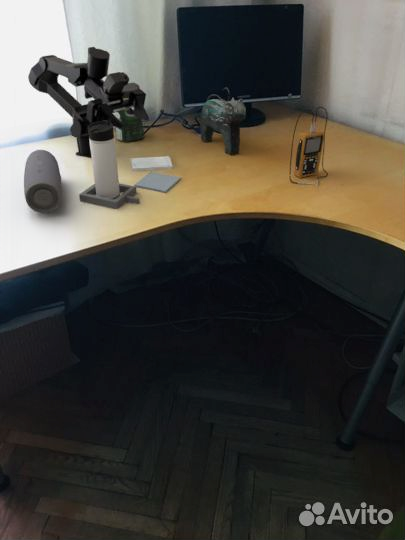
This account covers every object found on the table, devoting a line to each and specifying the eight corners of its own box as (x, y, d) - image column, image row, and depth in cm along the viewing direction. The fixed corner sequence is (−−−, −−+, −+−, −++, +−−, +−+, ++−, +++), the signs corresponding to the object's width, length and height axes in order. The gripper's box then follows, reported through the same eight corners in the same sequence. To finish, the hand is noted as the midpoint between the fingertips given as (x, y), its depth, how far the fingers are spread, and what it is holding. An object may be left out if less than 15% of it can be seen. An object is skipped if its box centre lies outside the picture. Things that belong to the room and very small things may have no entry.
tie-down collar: (80, 201, 123) (79, 194, 121) (101, 186, 131) (100, 179, 129) (129, 212, 118) (128, 205, 117) (148, 195, 126) (147, 188, 125)
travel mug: (124, 194, 127) (118, 121, 115) (113, 204, 121) (105, 129, 110) (104, 190, 128) (96, 118, 117) (92, 200, 123) (82, 126, 112)
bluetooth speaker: (66, 215, 116) (60, 178, 110) (28, 220, 114) (19, 183, 108) (62, 179, 134) (56, 146, 128) (28, 182, 132) (21, 149, 126)
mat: (134, 186, 131) (134, 184, 130) (150, 173, 138) (150, 171, 138) (165, 192, 127) (165, 191, 127) (180, 179, 135) (180, 177, 135)
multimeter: (303, 190, 130) (315, 120, 119) (283, 177, 137) (291, 109, 126) (343, 181, 136) (357, 113, 124) (321, 169, 143) (333, 103, 131)
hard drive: (132, 168, 139) (172, 165, 141) (130, 157, 145) (169, 155, 147) (132, 173, 140) (173, 170, 142) (130, 162, 146) (169, 160, 148)
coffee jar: (137, 133, 168) (134, 79, 157) (147, 139, 162) (144, 84, 151) (113, 137, 164) (107, 82, 153) (121, 144, 158) (116, 88, 147)
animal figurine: (244, 154, 152) (249, 92, 140) (229, 158, 149) (232, 95, 137) (209, 137, 165) (211, 78, 154) (195, 140, 162) (195, 81, 150)
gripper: (75, 70, 121) (111, 103, 116) (131, 61, 132) (166, 90, 127) (73, 108, 129) (106, 139, 124) (126, 96, 140) (158, 125, 135)
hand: (135, 122), depth 127 cm, fingers open, 9 cm apart
